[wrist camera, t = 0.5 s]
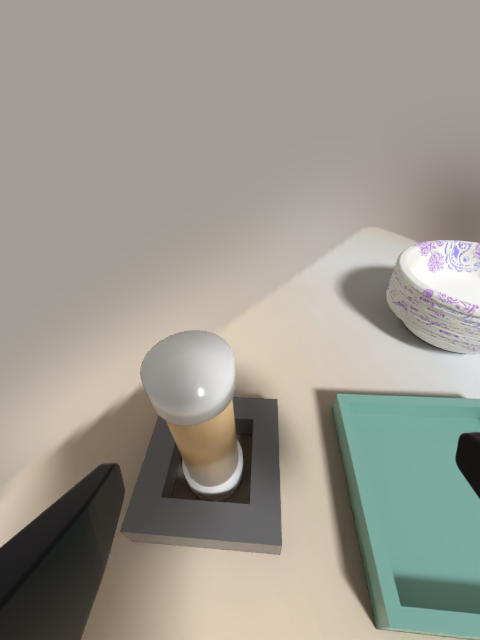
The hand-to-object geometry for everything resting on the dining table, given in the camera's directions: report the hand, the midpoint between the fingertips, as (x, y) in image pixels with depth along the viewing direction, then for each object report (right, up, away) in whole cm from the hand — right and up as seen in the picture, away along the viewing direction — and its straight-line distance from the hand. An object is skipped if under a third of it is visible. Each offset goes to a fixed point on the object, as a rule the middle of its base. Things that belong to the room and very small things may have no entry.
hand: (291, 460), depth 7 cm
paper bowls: (+24, +3, +26) cm, 36 cm away
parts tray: (+13, -9, +12) cm, 21 cm away
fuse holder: (-3, -8, +15) cm, 17 cm away
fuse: (-3, -8, +15) cm, 17 cm away
